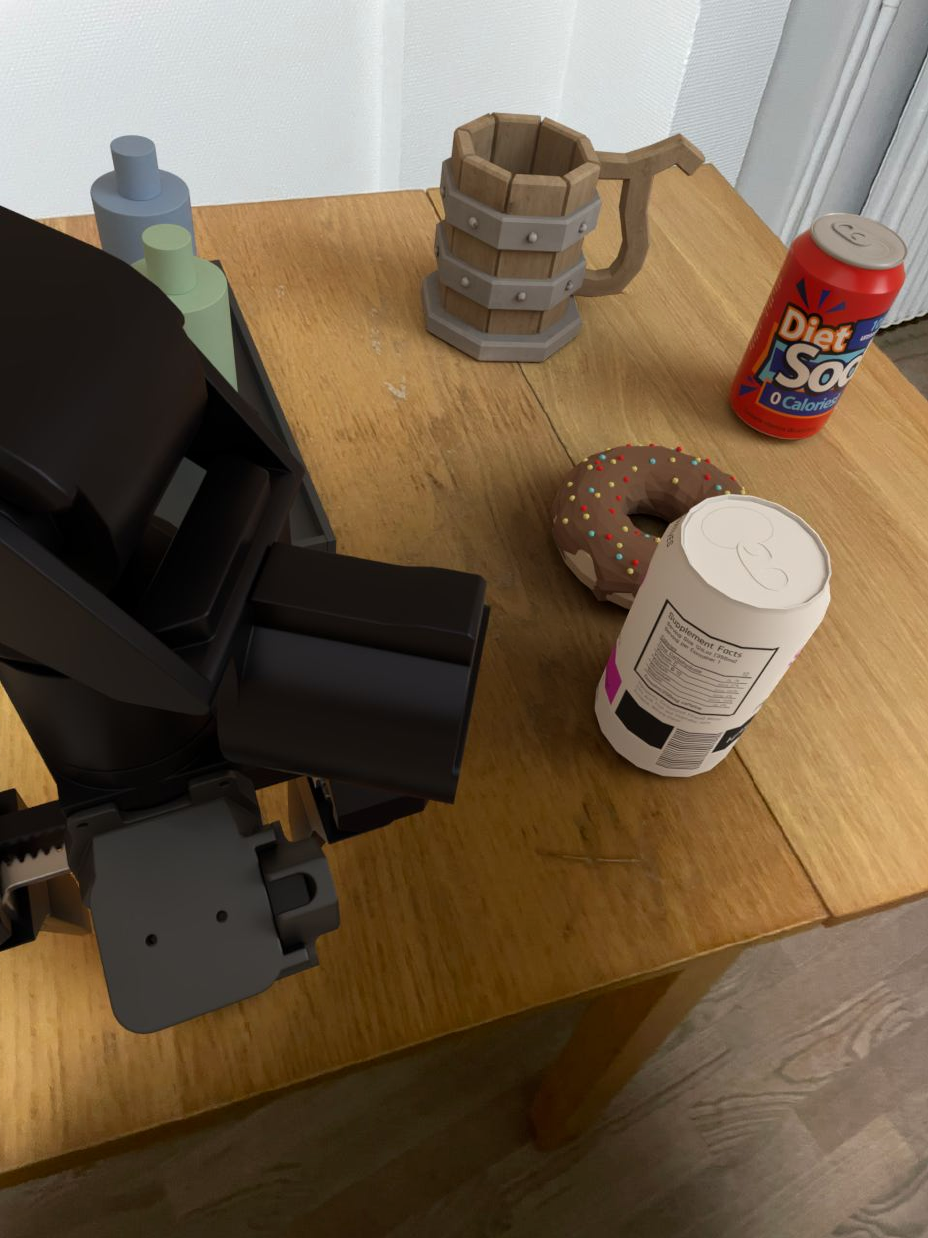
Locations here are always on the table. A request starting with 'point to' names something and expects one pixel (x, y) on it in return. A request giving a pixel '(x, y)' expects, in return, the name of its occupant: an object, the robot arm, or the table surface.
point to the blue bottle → (137, 199)
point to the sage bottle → (192, 292)
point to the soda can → (817, 324)
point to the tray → (258, 392)
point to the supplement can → (711, 632)
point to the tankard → (532, 232)
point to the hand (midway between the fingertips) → (196, 887)
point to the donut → (626, 512)
